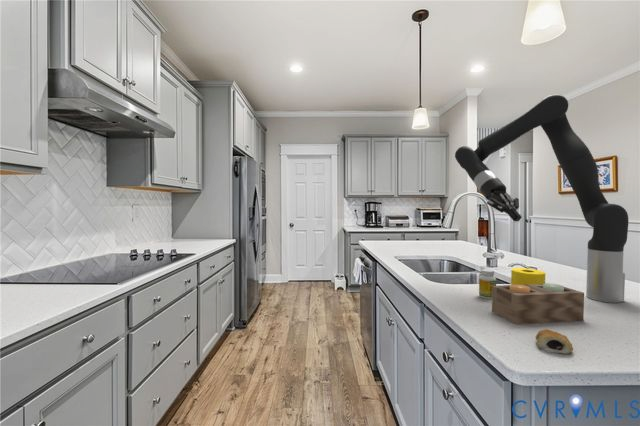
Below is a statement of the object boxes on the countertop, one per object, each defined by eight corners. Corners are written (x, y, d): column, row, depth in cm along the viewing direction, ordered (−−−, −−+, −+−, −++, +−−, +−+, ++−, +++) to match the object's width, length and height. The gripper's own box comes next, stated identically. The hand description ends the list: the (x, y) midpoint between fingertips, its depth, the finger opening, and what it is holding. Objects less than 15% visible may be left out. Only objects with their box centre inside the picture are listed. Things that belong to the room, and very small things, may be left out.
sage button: (553, 292, 96) (553, 283, 96) (568, 297, 91) (568, 287, 91) (538, 293, 95) (538, 283, 95) (552, 298, 90) (553, 288, 90)
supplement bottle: (484, 294, 115) (484, 268, 114) (499, 297, 110) (499, 270, 110) (475, 296, 112) (476, 269, 111) (490, 300, 107) (491, 272, 107)
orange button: (520, 294, 94) (520, 284, 94) (534, 299, 89) (534, 288, 89) (505, 294, 94) (505, 284, 94) (518, 299, 89) (518, 289, 89)
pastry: (533, 335, 79) (533, 321, 79) (566, 341, 76) (567, 326, 76) (537, 351, 71) (538, 334, 71) (575, 358, 68) (575, 341, 68)
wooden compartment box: (553, 308, 99) (553, 283, 98) (583, 320, 89) (584, 292, 89) (491, 311, 96) (492, 285, 96) (516, 324, 86) (516, 295, 86)
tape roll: (522, 292, 117) (523, 267, 117) (551, 299, 108) (552, 272, 108) (504, 295, 113) (505, 269, 113) (532, 303, 104) (533, 275, 104)
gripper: (480, 176, 112) (510, 212, 100) (509, 177, 115) (540, 211, 104) (469, 192, 117) (496, 227, 105) (497, 192, 121) (525, 226, 109)
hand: (518, 219), depth 105 cm, fingers closed
